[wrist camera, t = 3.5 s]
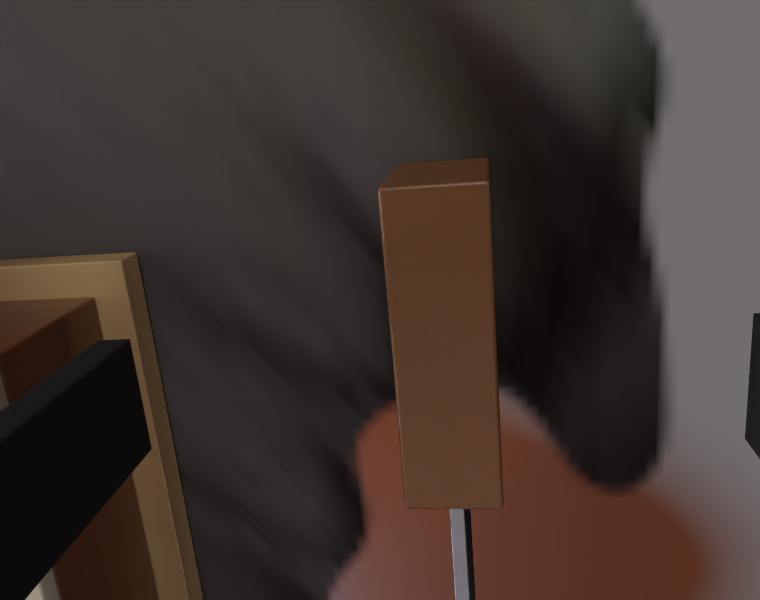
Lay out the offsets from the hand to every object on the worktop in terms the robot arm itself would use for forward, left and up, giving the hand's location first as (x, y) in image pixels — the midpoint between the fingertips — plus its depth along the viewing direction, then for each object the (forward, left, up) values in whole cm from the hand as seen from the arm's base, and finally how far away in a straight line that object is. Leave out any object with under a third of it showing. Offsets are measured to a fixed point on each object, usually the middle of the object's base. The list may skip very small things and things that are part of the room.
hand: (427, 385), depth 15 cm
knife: (0, +7, -5) cm, 9 cm away
